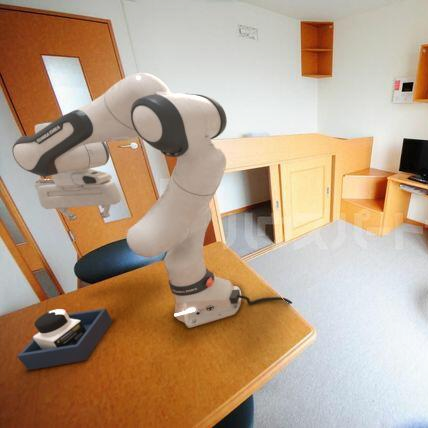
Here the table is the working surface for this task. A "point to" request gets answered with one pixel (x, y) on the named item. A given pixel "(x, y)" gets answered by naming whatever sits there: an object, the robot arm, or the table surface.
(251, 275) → the table surface
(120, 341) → the table surface
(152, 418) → the table surface
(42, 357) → the bin
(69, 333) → the medicine bottle
